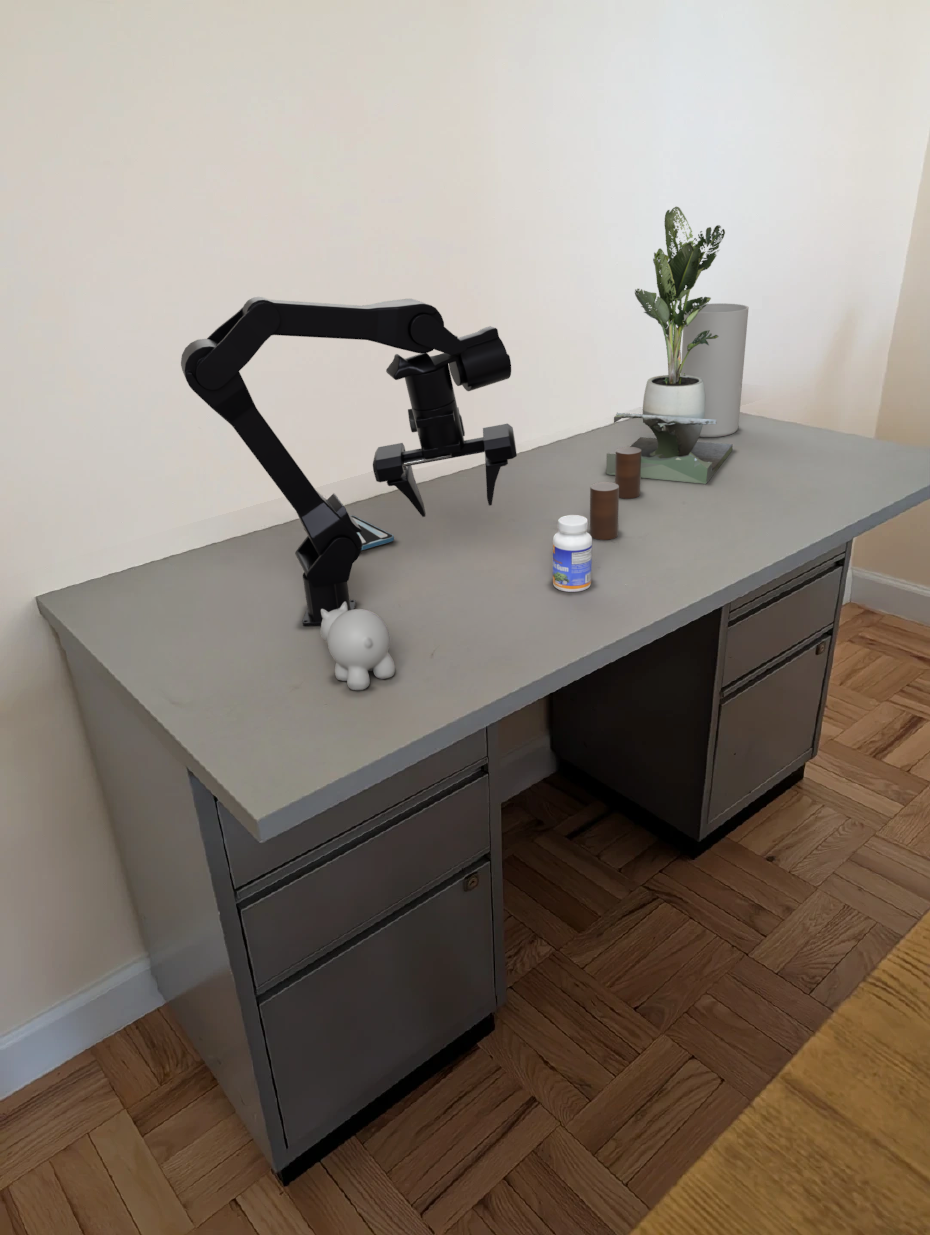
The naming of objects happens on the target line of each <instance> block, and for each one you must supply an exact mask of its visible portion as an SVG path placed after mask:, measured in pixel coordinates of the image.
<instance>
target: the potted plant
mask: <svg viewBox="0 0 930 1235" xmlns="http://www.w3.org/2000/svg"><path fill="white" fill-rule="evenodd" d="M663 222H664V230H665V234H664V235H665V245H666V253H667V254H665V252H664V250H663V249H662V248H658V249H657V251H656V252H653V257H652V262H653V265H654V270H655V277H656V278H655V279H656V287H657V290H658V295H659V296H657V293H656V292H651V291H648V290H645V289H642V288H641V289H640V288H637V289H636V288H635V289H634V296H635V298H636V300H637V301H638V302H639V304H640V305H641V306H640V308H642V309H643V310H644V311H643V314H646V316H648V317H650V318H652V319H654V320H656V321H657V323H658V325H659V326H660V327H661V328H662V332H663V336H664V341H665V346H666V355H667V371H668V372H667V374H665V375H664V374H663V375H656V376H653V377H650V378H648V379H647V381H646V385H645V389H644V394H643V400H642V413H630V412H629V413H628V412H616V415H615V416H614V417H613V424H615V423H617V422H619V421H620V420H621V419H627V418H628V419H642V423H643V424H644V425H646V426H647V427H649V429H650V430H651V432H652V433H653V434H654V436H655V438H654V437H644V436H643V437H642V436H639V438H638V439H637V440H635V441H634V442H633V443H632V444H631V445H629V447H636V448H639V449H641V478H643V479H652V480H661V481H662V480H663V481H674V482H683V483H692V484H694V483H695V484H703V485H704V484H705V485H707V484H708V483H709V481H710V480H711V479H712V477H713V476H714V475H715V473H716V472H717V471H718V470H719V468H720V467H721V466H722V464H723V463H724V461H725V460H726V459H727V458H728V457H729V456H730V454H731V452H732V451H733V444H732V443H731V444H730V443H720V442H711V441H710V442H709V441H698V440H699V438H700V437H699V436H700V433H701V430H702V426H703V425H708V424H717V420H713V419H704V416H705V388H704V382H703V379H702V378H700V377H696V376H690V375H685V373H683V374H684V375H681V371H682V367H683V365H684V362H685V360H686V358H687V355H688V354H689V352H690V350H691V349H692V348H694V347H695V346H697V345H698V344H704V343H705V344H707V345H709V344H708V342H707V341H706V339H715V338H717V337H719V336H718V335H714V336H712V337H710V336H711V335H712V333H710V334H709V335H708V333H709V331H710V330H708V333H707V331H703V332H701V333H699V334H698V335H697V336H698V337H697V338H695V339H694V341H695V342H694V341H693V342H692V343H690V344H688V346H687V349H688V348H690V349H688V350H687V351H688V352H687V354H686V356H685V358H684V360H683V362H682V363H681V361H682V351H681V345H682V344H681V343H682V338H683V328H684V327H685V325H686V327H687V326H688V325H689V324H690V323H691V322H692V321H693V320H694V319H695V317H696V316H697V312H698V311H699V312H700V311H701V310H702V309H703V307H705V306H706V305H704V304H709V302H710V301H711V300H712V297H710V296H704V297H703V296H700V297H696V298H693V299H690V300H689V296H690V292H691V290H692V289H693V288H694V287H695V285H696V282H697V280H698V278H699V277H700V275H701V273H702V272H703V271H706V270H708V269H710V267H711V266H712V264H713V262H714V260H715V259H716V258H717V256H718V255H717V253H719V248H720V244H721V243H722V242H723V239H724V237H725V234H726V230H725V229H724V228H722V225H719V224H717V225H716V226H714V228H713V231H712V226H709V227H706V229H705V236H704V234H703V231H702V230H701V231H699V233H698V235H697V236H698V239H699V240H698V239H697V238H696V237H695V238H694V237H693V236H694V235H693V230H692V228H691V226H690V224H689V221H688V220H687V217H686V216H685V214H684V212H683V211H682V209H681V208H680V207H679V206H675V207H673V208H672V209H667V210H666V212H665V215H664V221H663ZM685 222H686V224H684V223H685ZM677 224H679V225H677ZM685 226H688V230H690V231H689V232H688V233H687V231H686V227H685ZM679 228H680V229H679ZM721 228H722V229H721ZM679 230H681V231H682V230H684V231H682V234H683V235H685V236H683V238H685V237H686V239H684V240H683V241H682V240H681V237H679V235H678V234H679ZM678 238H679V239H680V240H679V242H677V239H678ZM690 239H692V240H690ZM684 241H685V242H684ZM694 241H695V242H697V243H695V242H694ZM706 248H708V249H707V251H705V250H706ZM703 249H704V250H703ZM704 256H705V257H704ZM684 297H685V299H684V302H683V300H682V299H683V298H684ZM693 305H694V306H693ZM702 305H704V306H702ZM700 306H702V307H700ZM701 308H702V309H701ZM677 309H678V312H676V310H677ZM691 309H693V311H692V312H691ZM689 311H690V314H689ZM699 312H698V313H699ZM686 313H687V314H686ZM684 314H685V315H687V316H688V314H689V316H688V317H687V318H686V319H685V321H684ZM702 334H703V335H704V336H703V335H702ZM707 335H708V336H707ZM702 336H703V337H702ZM706 336H707V337H706ZM699 337H701V339H700V338H699ZM615 456H616V453H606V468H605V474H606V475H611V476H615Z"/></svg>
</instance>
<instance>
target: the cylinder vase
mask: <svg viewBox="0 0 930 1235" xmlns="http://www.w3.org/2000/svg"><path fill="white" fill-rule="evenodd" d="M704 305H706V306H705V307H703V309H702V308H701V309H702V310H701V311H700V312H699V311H698V312H699V313H698V312H697V316H696V317H695V319H694V320H693V321H692V322H691V323H690V324H689V325H688V326H687V327H686V325H685V327H684V328H683V331H682V341H681V343H682V344H681V345H682V346H681V363H682V362H683V360H684V358H685V356H686V354H687V352H688V351H687V350H688V349H690V348H688V349H687V346H688V344H690V343H692V342H693V341H694V339H695V338H697V337H698V336H697V335H698V334H699V333H701V332H703V331H707V333H708V330H710V331H709V333H708V335H709V334H710V333H712V335H711V336H710V337H712V336H714V335H718V336H719V337H717V338H715V339H706V341H707V342H708V344H709V345H707V344H705V343H704V344H698V345H697V346H695V347H694V348H692V349H691V350H690V352H689V354H688V355H687V358H686V360H685V362H684V365H683V367H682V371H681V374H680V375H684V374H683V373H685V375H690V376H696V377H700V378H702V379H703V382H704V388H705V416H704V419H713V420H717V424H708V425H703V426H702V430H701V433H700V436H699V438H720V437H726V436H730V435H733V434H735V433H736V432H738V430H739V427H740V426H739V425H740V416H741V415H740V414H741V400H742V390H743V377H744V367H745V355H746V343H747V332H748V330H747V329H748V320H749V306H747V305H745V304H740V303H708V304H707V303H706V304H704ZM704 305H702V306H704ZM693 306H694V304H693ZM702 306H700V307H702ZM692 311H693V309H691V312H692ZM686 314H687V313H686ZM689 314H690V311H689ZM689 314H688V316H689ZM688 316H687V315H685V314H684V321H685V319H686V318H687V317H688ZM702 335H703V334H702ZM708 335H707V336H708ZM703 336H704V335H703ZM703 336H702V337H703ZM707 336H706V337H707ZM699 338H700V339H701V337H699ZM694 342H695V341H694ZM681 363H680V364H681Z"/></svg>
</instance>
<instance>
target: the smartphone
mask: <svg viewBox="0 0 930 1235" xmlns="http://www.w3.org/2000/svg"><path fill="white" fill-rule="evenodd" d="M350 515H351V517H352V518H353V519H354V521H355V522H356V523H357V525H358V526H359V527H360V529H361V530H362V531H361V532H357V534H358V535H359V537H360V539H361V541H362V549H361V552H363V551H365V550H368V549H371V548H374V547H375V548H376V547H378V546H382V545H385V544H388V543H392V542H393V541H394V540H395V536H394V534H392V533H390V532H388V531H386V530H384V529H382V528H380V527H378V526H377V525H374V524H372V523H370V522H368V521H366V520H364V519H363V518H360V517H358V516H356V515H354V514H353V515H352V514H350Z"/></svg>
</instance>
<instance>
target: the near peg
mask: <svg viewBox="0 0 930 1235" xmlns="http://www.w3.org/2000/svg"><path fill="white" fill-rule="evenodd" d="M619 506H620V498H619V485H618V484H616V483H615V482H611V481H598V482H595V483H592V484H591V485H590V486H589V534H590V535H591V537H592V539H595V540H601V541H608V540H613V539H615V538H617V537H618V535H619V509H620V508H619Z"/></svg>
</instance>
